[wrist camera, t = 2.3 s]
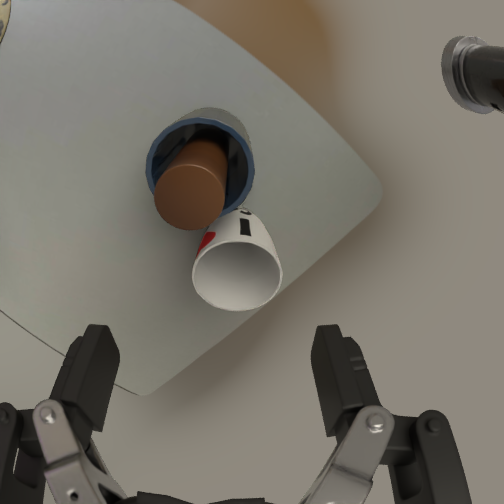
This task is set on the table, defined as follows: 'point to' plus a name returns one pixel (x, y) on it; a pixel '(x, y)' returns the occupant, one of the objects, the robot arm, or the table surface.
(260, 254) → the cup
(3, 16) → the decorative bowl
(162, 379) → the table surface
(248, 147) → the crock
